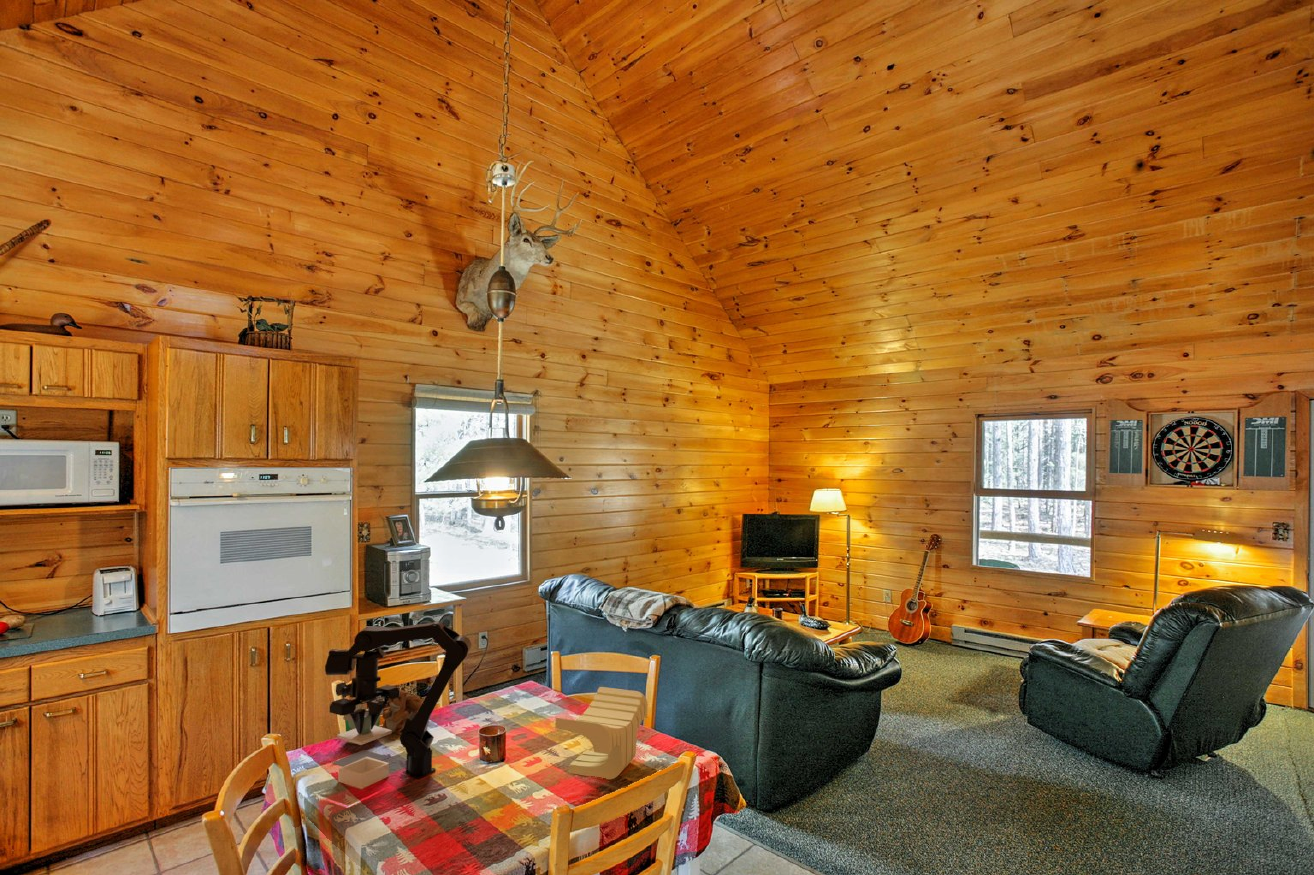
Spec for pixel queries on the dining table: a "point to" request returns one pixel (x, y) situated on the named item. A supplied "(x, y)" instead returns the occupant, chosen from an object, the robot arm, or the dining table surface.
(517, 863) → the dining table surface
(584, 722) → the slatted curved stool
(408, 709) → the stuffed squirrel
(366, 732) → the lid
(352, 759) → the mat
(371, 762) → the dish
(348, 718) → the food container
